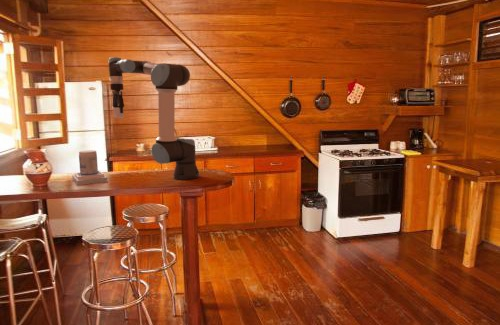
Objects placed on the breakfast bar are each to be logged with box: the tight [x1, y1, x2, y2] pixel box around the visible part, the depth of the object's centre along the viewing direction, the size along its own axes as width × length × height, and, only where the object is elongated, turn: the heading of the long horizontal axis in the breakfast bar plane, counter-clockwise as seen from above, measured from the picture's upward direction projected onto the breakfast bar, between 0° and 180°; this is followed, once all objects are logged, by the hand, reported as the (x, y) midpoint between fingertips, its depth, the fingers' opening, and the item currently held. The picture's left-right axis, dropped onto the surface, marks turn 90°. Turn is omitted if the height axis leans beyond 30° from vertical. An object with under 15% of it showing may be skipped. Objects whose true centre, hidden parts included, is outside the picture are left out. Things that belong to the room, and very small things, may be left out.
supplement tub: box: [78, 149, 99, 176], centre depth 225 cm, size 10×10×15 cm
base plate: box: [71, 170, 108, 186], centre depth 227 cm, size 20×16×4 cm
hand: (119, 118), depth 244 cm, fingers open, 13 cm apart
